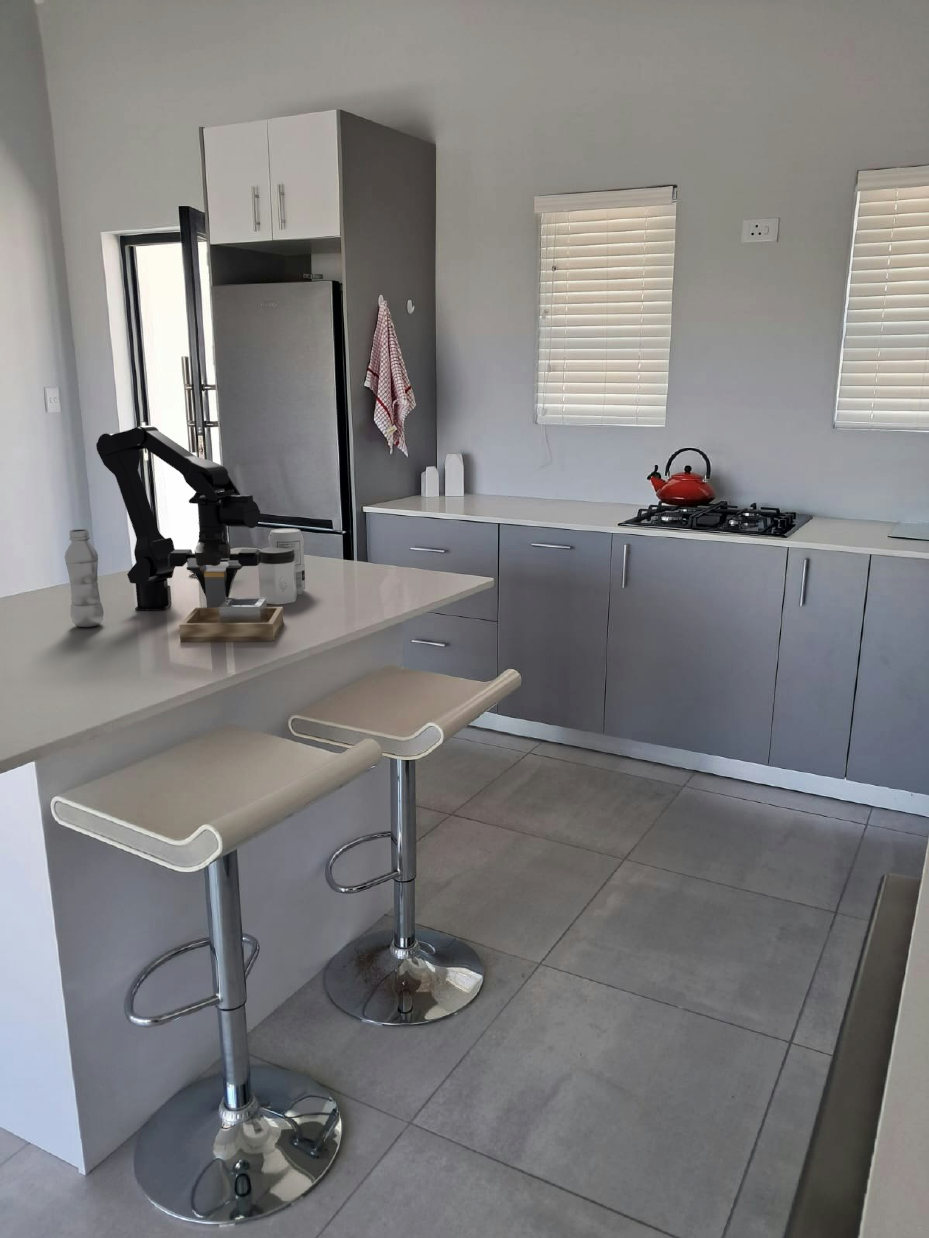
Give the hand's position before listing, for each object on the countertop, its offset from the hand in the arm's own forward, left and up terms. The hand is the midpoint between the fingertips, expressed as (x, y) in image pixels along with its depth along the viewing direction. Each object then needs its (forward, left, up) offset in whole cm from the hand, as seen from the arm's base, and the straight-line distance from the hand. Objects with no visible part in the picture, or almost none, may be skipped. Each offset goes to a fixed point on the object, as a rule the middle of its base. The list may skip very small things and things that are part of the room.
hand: (217, 597), depth 200 cm
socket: (+8, -13, -4) cm, 16 cm away
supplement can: (+12, +23, -4) cm, 26 cm away
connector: (0, 0, -2) cm, 2 cm away
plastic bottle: (-25, -8, -4) cm, 27 cm away
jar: (+11, +14, -4) cm, 18 cm away
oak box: (+6, -14, -4) cm, 16 cm away
